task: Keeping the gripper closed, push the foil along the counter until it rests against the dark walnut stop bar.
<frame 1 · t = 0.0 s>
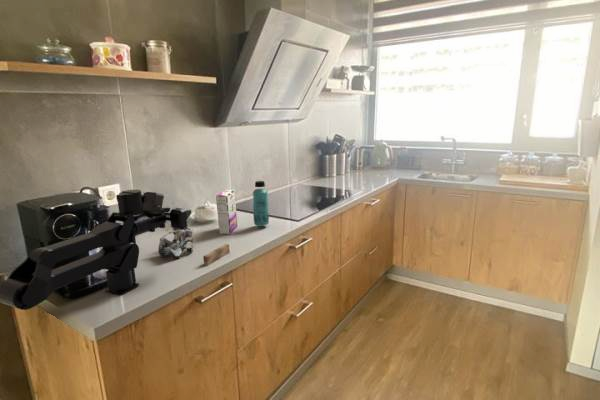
hand: (180, 210, 120), 17 cm above the worktop, tool horizontal, fingers open, 9 cm apart
beverage bottle: (261, 227, 155), on the worktop
candy bar box: (228, 230, 152), on the worktop
foil: (178, 252, 129), on the worktop
stop bar: (217, 258, 122), on the worktop
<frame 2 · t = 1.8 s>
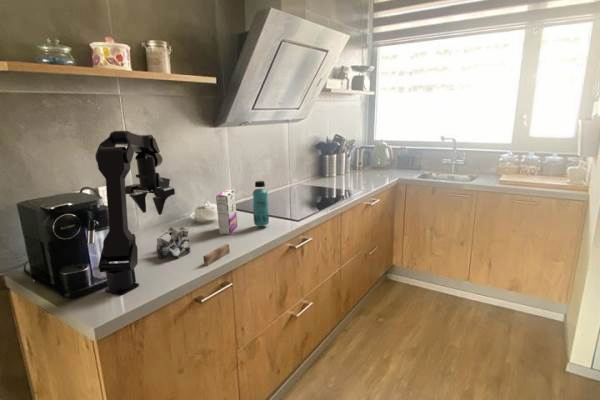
hand: (152, 213, 130), 13 cm above the worktop, tool pointing down, fingers open, 7 cm apart
foil: (176, 252, 129), on the worktop
everything else where it was.
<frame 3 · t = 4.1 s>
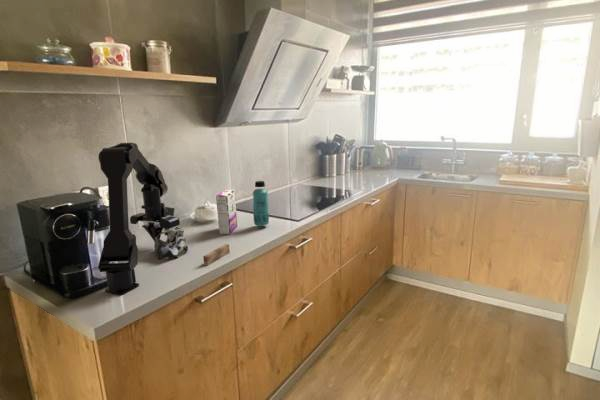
hand: (157, 242, 132), 2 cm above the worktop, tool pointing down, fingers closed
foil: (172, 252, 129), on the worktop, touching gripper
everything else where it was.
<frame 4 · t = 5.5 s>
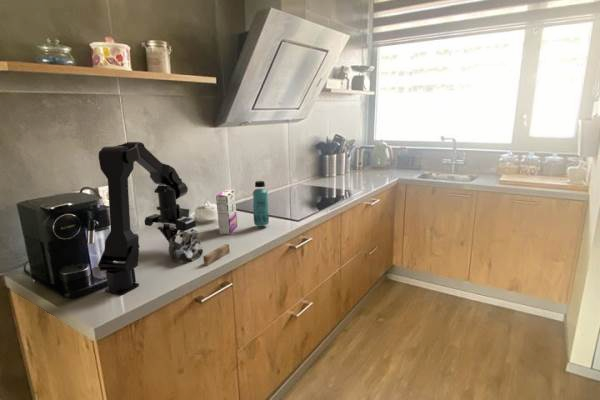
hand: (172, 244, 129), 2 cm above the worktop, tool pointing down, fingers closed
foil: (187, 255, 125), on the worktop, touching gripper
everything else where it was.
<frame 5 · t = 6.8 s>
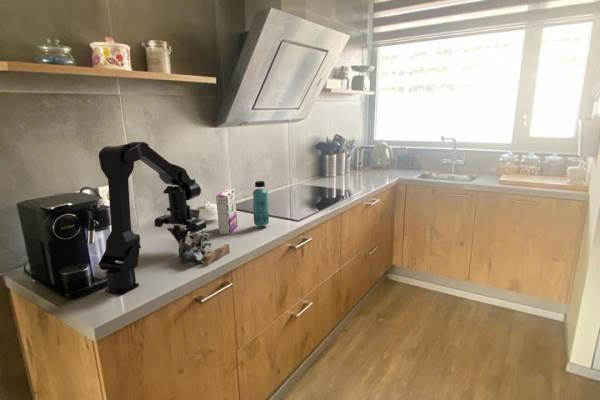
hand: (182, 246, 127), 2 cm above the worktop, tool pointing down, fingers closed
foil: (197, 257, 123), on the worktop, touching gripper
everything else where it was.
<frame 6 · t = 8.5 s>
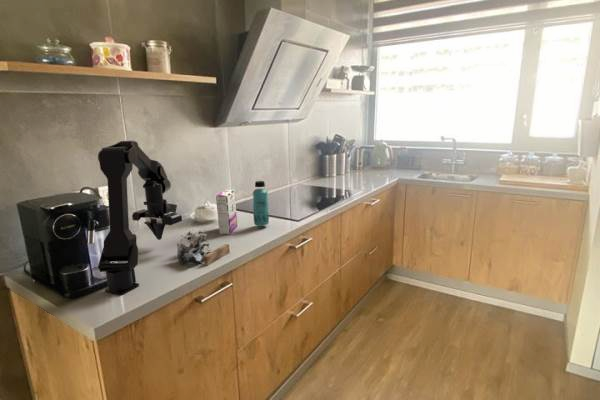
hand: (159, 239, 131), 4 cm above the worktop, tool pointing down, fingers closed
foil: (195, 258, 123), on the worktop
everything else where it was.
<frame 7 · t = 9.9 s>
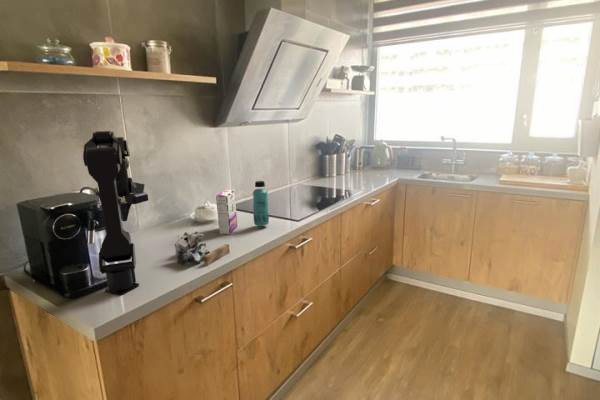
hand: (124, 221, 122), 13 cm above the worktop, tool pointing down, fingers closed
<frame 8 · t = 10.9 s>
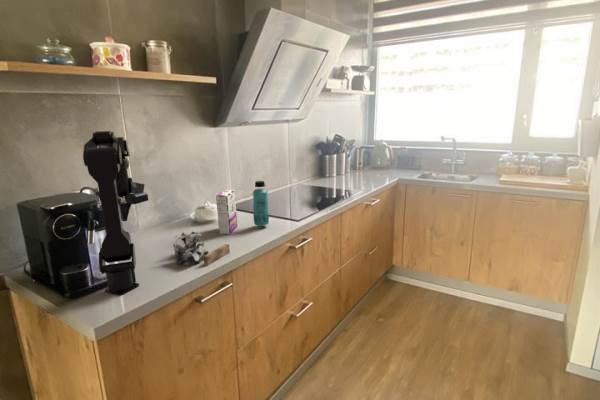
hand: (124, 221, 122), 13 cm above the worktop, tool pointing down, fingers closed
at the end: foil 3.0 cm from the target spot on the worktop beside the stop bar, on the worktop; foil tilted 0° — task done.
